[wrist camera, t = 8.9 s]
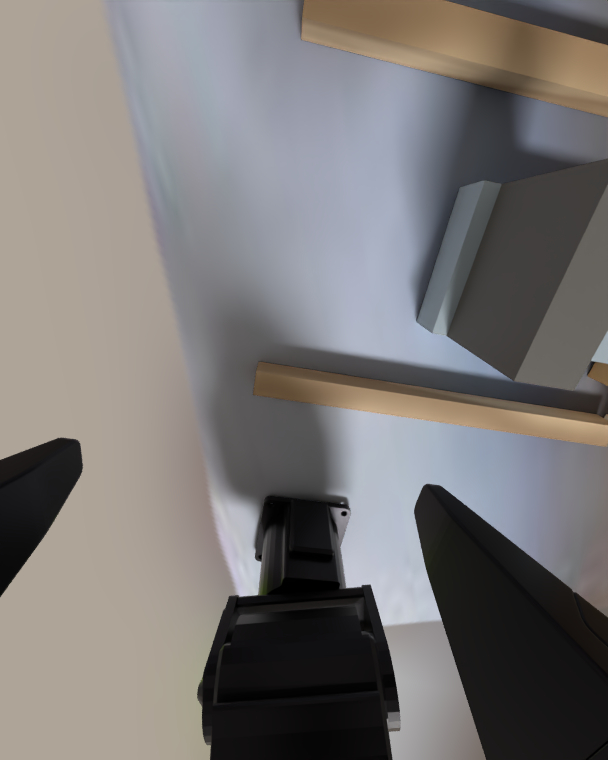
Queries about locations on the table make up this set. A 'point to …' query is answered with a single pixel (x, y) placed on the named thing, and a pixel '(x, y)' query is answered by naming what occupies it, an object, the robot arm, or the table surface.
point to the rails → (483, 67)
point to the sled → (527, 276)
